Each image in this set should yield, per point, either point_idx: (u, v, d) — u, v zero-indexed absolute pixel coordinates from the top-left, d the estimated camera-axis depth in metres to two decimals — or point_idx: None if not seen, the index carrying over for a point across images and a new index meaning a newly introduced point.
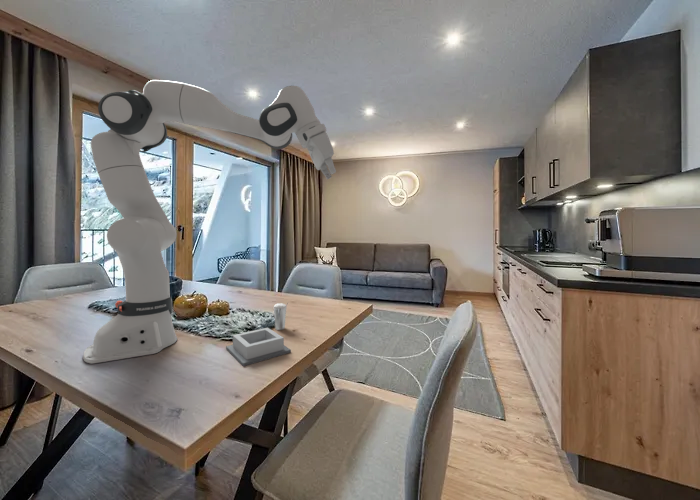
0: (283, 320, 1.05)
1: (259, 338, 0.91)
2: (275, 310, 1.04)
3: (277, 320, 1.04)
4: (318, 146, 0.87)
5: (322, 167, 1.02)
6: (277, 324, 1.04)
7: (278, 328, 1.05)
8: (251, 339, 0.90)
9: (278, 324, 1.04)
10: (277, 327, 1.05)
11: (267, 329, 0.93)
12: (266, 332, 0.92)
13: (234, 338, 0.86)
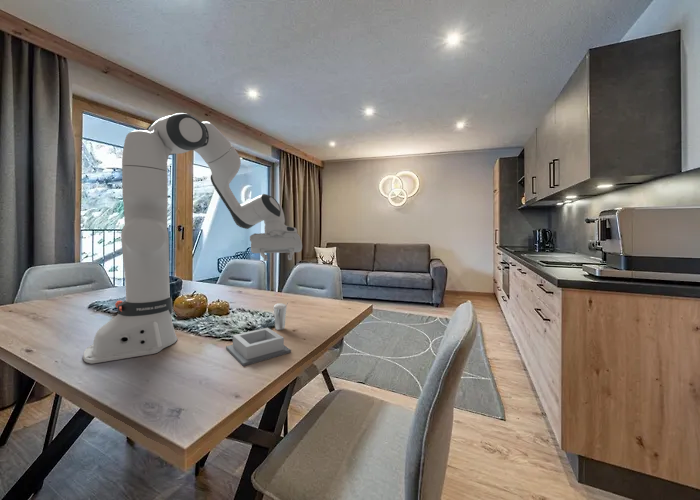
0: (283, 320, 1.05)
1: (259, 338, 0.91)
2: (275, 310, 1.04)
3: (277, 320, 1.04)
4: (300, 240, 1.22)
5: (264, 250, 1.16)
6: (277, 324, 1.04)
7: (278, 328, 1.05)
8: (251, 339, 0.90)
9: (278, 324, 1.04)
10: (277, 327, 1.05)
11: (267, 329, 0.93)
12: (266, 332, 0.92)
13: (234, 338, 0.86)
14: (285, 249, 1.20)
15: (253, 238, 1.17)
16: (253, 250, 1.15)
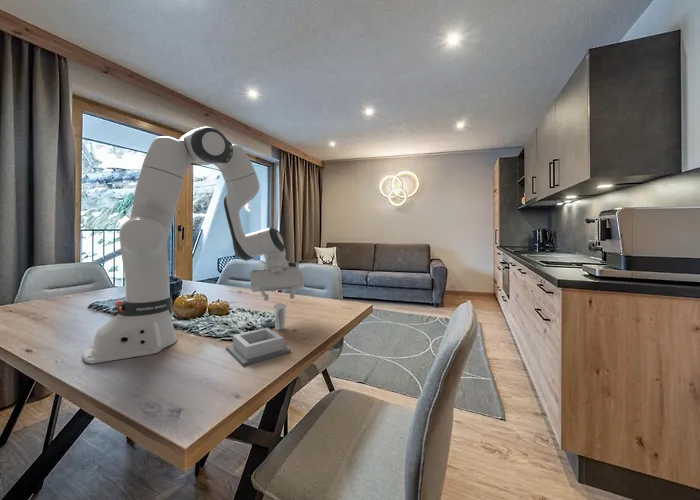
0: (283, 320, 1.05)
1: (259, 338, 0.91)
2: (275, 310, 1.04)
3: (277, 320, 1.04)
4: None
5: (264, 289, 1.11)
6: (277, 324, 1.04)
7: (278, 328, 1.05)
8: (251, 339, 0.90)
9: (278, 324, 1.04)
10: (277, 327, 1.05)
11: (267, 329, 0.93)
12: (266, 332, 0.92)
13: (234, 338, 0.86)
14: (286, 286, 1.15)
15: (253, 276, 1.12)
16: (253, 289, 1.10)
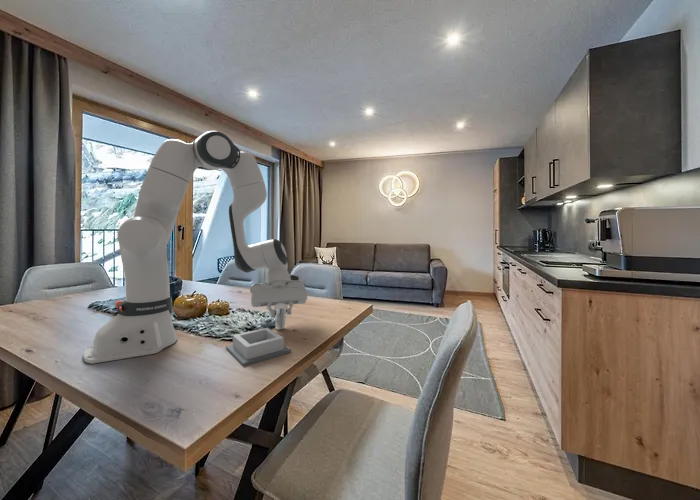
0: (283, 320, 1.05)
1: (259, 338, 0.91)
2: (276, 310, 1.04)
3: (277, 320, 1.04)
4: (305, 290, 1.12)
5: (270, 303, 1.06)
6: (277, 324, 1.04)
7: (278, 328, 1.05)
8: (251, 339, 0.90)
9: (278, 324, 1.04)
10: (277, 327, 1.05)
11: (267, 329, 0.93)
12: (266, 332, 0.92)
13: (234, 338, 0.86)
14: None
15: (254, 290, 1.07)
16: (254, 304, 1.05)
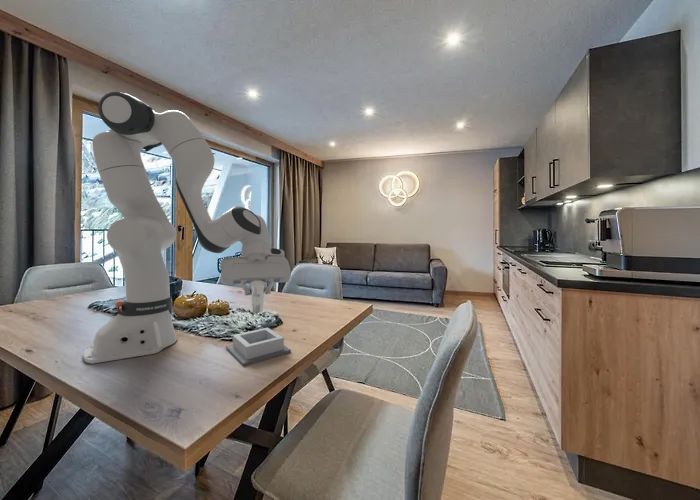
0: (261, 300, 0.86)
1: (259, 338, 0.91)
2: (251, 288, 0.85)
3: (253, 300, 0.85)
4: (289, 266, 0.93)
5: (245, 280, 0.87)
6: (253, 305, 0.85)
7: (254, 310, 0.85)
8: (251, 339, 0.90)
9: (254, 305, 0.85)
10: (253, 309, 0.85)
11: (267, 329, 0.93)
12: (266, 332, 0.92)
13: (234, 338, 0.86)
14: None
15: (225, 264, 0.87)
16: (224, 281, 0.85)
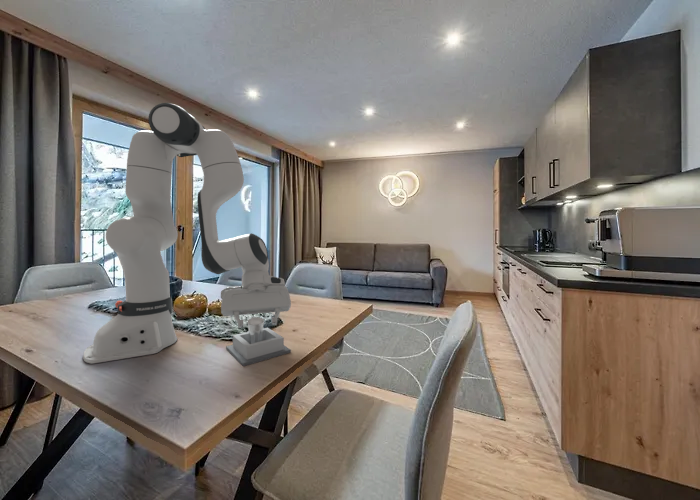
0: (259, 338, 0.86)
1: None
2: (249, 326, 0.85)
3: (252, 338, 0.85)
4: (289, 295, 0.93)
5: (239, 312, 0.87)
6: None
7: None
8: None
9: None
10: None
11: (267, 329, 0.93)
12: (266, 332, 0.92)
13: (234, 338, 0.86)
14: (268, 308, 0.91)
15: (225, 295, 0.88)
16: (224, 313, 0.86)
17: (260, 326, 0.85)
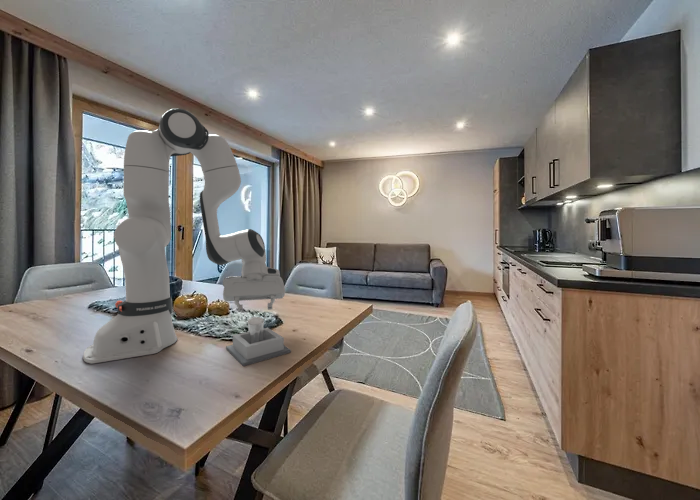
0: (259, 338, 0.86)
1: None
2: (249, 326, 0.85)
3: (252, 338, 0.85)
4: (283, 284, 1.05)
5: (238, 298, 0.98)
6: None
7: None
8: None
9: None
10: None
11: (267, 329, 0.93)
12: (266, 332, 0.92)
13: (234, 338, 0.86)
14: (265, 296, 1.02)
15: (226, 283, 0.99)
16: (226, 298, 0.97)
17: (260, 326, 0.85)
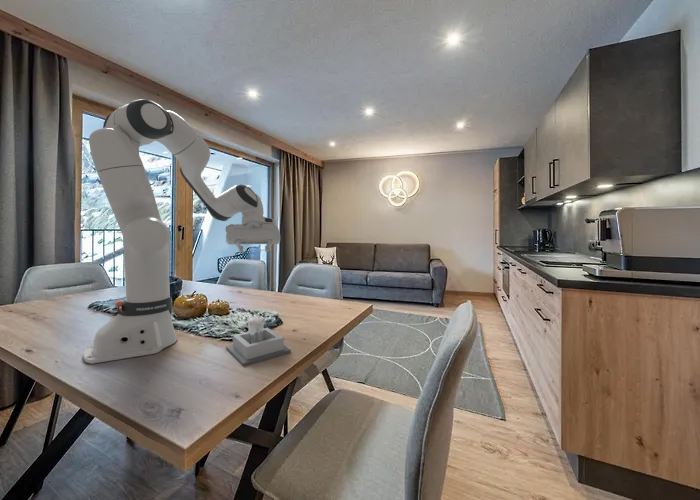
0: (259, 338, 0.86)
1: None
2: (249, 326, 0.85)
3: (252, 338, 0.85)
4: None
5: (239, 241, 1.12)
6: None
7: None
8: None
9: None
10: None
11: (267, 329, 0.93)
12: (266, 332, 0.92)
13: (234, 338, 0.86)
14: (262, 241, 1.16)
15: (229, 229, 1.13)
16: (228, 241, 1.11)
17: (260, 326, 0.85)
